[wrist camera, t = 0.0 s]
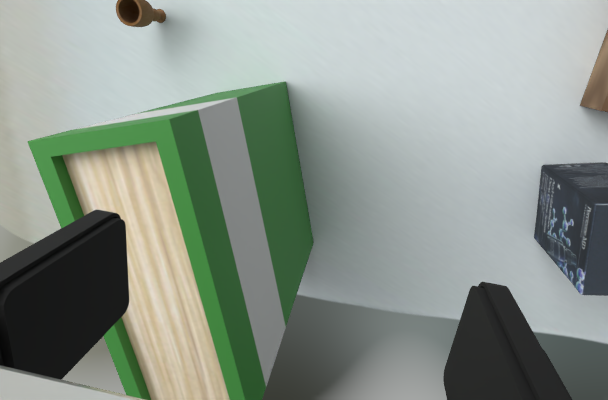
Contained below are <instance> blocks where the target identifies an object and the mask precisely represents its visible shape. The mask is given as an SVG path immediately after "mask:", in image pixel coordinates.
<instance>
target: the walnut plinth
mask: <svg viewBox="0 0 608 400" xmlns="http://www.w3.org/2000/svg"><path fill="white" fill-rule="evenodd" d="M580 106H584V107H588V108H592V109H596V110H599V111H606V112H608V30H607V33H606V36H605V38H604V41H603V44H602V47H601V49H600V52H599V55H598V57H597V60H596V63H595V66H594V68H593V71H592V74H591V77H590V79H589V82H588V85H587V87H586V90H585V93H584V96H583V98H582V101H581V104H580Z"/></svg>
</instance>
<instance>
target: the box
mask: <svg viewBox="0 0 608 400" xmlns="http://www.w3.org/2000/svg"><path fill="white" fill-rule="evenodd" d="M534 238H535V239H536V240H537V242H538V243H539V244H540V245H541V247H542V248H543V249H544V250H545V251H546V253H547V254H548V255H549V256H550V257H551V259H552V260H553V261H554V262H555V263H556V264H557V266H558V267H559V268H560V269H561V271H562V272H563V273H564V274H565V275H566V276H567V278H568V279H569V280H570V281H571V283H572V284H573V285H574V286H575V287H576V289H577V290H578V291H579V293H580V294H581V295H608V163H578V164H555V165H543V166H542V170H541V179H540V189H539V199H538V209H537V218H536V227H535V234H534Z"/></svg>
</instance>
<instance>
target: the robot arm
mask: <svg viewBox="0 0 608 400" xmlns="http://www.w3.org/2000/svg"><path fill="white" fill-rule="evenodd" d="M128 306H129V283H128V263H127V242H126V225H125V222H124V220H123V219H121V217H120V215H119V214H117V213H113V212H108V211H103V210H94V211H92V212H90V213H88V214H86V215H85V216H83V217H81V218H79V219H78V220H76V221H74V222H72V223H70V224H69V225H67V226H65V227H63V228H62V229H60V230H58V231H56V232H54V233H53V234H51V235H49V236H47V237H45V238H44V239H42V240H40V241H38V242H37V243H35V244H33V245H31V246H29V247H28V248H26V249H24V250H22V251H20V252H19V253H17V254H15V255H13V256H12V257H10V258H8V259H6V260H4V261H3V262H1V263H0V400H145V399H140V398H136V397H132V396H128V395H123V394H120V393H115V392H111V391H107V390H103V389H98V388H94V387H90V386H86V385H81V384H77V383H73V382H69V381H64V380H61V379H62V378H63V377H64V376H65V375H66V374H67V373H68V372H69V371H70V370H71V369H72V368H73V367H74V366H75V365H76V364H77V363H78V362H79V361H80V359H82V358H83V356H84V355H85V354H86V353H87V352H88V351H89V350H90V349H91V348H92V347H93V346H94V345H95V344H96V343H97V342H98V341H99V340H100V339H101V338H102V337H103V336H104V335H105V334H106V333H107V331H108V330H109V329H110V328H111V327H112V326H113V325H114V324H115V323H116V322H117V321H118V320H119V319H120V318H121V317H122V316H123V315H124V314H125V312H126V311H127V308H128ZM444 386H445V391H446V396H447V400H572V399H571V397H570V395H569V393H568V391H567V390H566V388H565V386H564V384H563V382H562V381H561V379H560V377H559V375H558V374H557V372H556V370H555V368H554V366H553V365H552V363H551V361H550V359H549V358H548V356H547V354H546V353H545V351H544V350H543V349H542V348H541V346H540V344H539V342H538V340H537V339H536V337H535V335H534V333H533V331H532V330H531V328H530V326H529V324H528V323H527V321H526V319H525V317H524V315H523V314H522V312H521V310H520V308H519V306H518V305H517V303H516V301H515V299H514V298H513V296H512V294H511V292H510V290H509V289H508V288H507V286H502V285H497V284H492V283H486V282H481V283H480V284H479V286H478V287H477V286H472V287H471V289H470V291H469V294H468V297H467V301H466V304H465V307H464V310H463V313H462V316H461V319H460V323H459V326H458V329H457V332H456V335H455V338H454V341H453V344H452V347H451V351H450V354H449V357H448V360H447V363H446V366H445V370H444Z"/></svg>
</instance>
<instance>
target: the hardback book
mask: <svg viewBox="0 0 608 400" xmlns="http://www.w3.org/2000/svg"><path fill="white" fill-rule="evenodd" d="M28 144H29V146H30V149H31V151H32V154H33V157H34V159H35V162H36V164H37V167H38V169H39V172H40V175H41V177H42V180H43V182H44V185H45V187H46V190H47V192H48V195H49V198H50V200H51V203H52V205H53V208H54V210H55V213H56V216H57V218H58V221H59V223H60V226H61V228H63V227H65V226H67V225H69V224H70V223H72V222H74V221H76V220H78V219H79V218H81V217H83V216H85V215H86V214H88V213H90V212H92V211H94V210H103V211H108V212H113V213H117V214H119V215H120V217H121V219H123V220H124V222H125V225H126V242H127V263H128V283H129V306H128V308H127V311H126V312H125V314H124V315H123V316H122V317H121V318H120V319H119V320H118V321H117V322H116V323H115V324H114V325H113V326H112V327H111V328H110V329H109V330H108V331H107V333H106V334H105V335H104V339H105V341H106V344H107V346H108V349H109V351H110V354H111V356H112V359H113V362H114V364H115V367H116V369H117V372H118V375H119V377H120V379H121V382H122V385H123V387H124V390H125V392H126V395H128V396H132V397H136V398H140V399H145V400H262V398H263V395H264V391H265V388H266V385H267V382H268V379H269V376H270V373H271V370H272V367H273V364H274V361H275V358H276V355H277V352H278V349H279V346H280V343H281V340H282V336H283V334H284V331H285V328H286V325H287V322H288V318H289V315H290V312H291V309H292V306H293V303H294V300H295V297H296V294H297V291H298V288H299V285H300V282H301V279H302V276H303V273H304V270H305V267H306V264H307V261H308V258H309V255H310V252H311V249H312V246H313V237H312V231H311V225H310V219H309V213H308V208H307V202H306V196H305V190H304V184H303V179H302V173H301V167H300V161H299V155H298V150H297V144H296V138H295V132H294V127H293V121H292V115H291V109H290V103H289V98H288V92H287V86H286V82H280V83H274V84H268V85H262V86H256V87H250V88H244V89H238V90H232V91H226V92H220V93H215V94H211V95H207V96H203V97H199V98H195V99H191V100H187V101H184V102H180V103H176V104H172V105H168V106H164V107H160V108H156V109H152V110H148V111H144V112H141V113H137V114H133V115H129V116H125V117H121V118H117V119H113V120H109V121H105V122H101V123H98V124H94V125H90V126H86V127H82V128H78V129H74V130H70V131H66V132H62V133H58V134H55V135H51V136H47V137H43V138H39V139H35V140H31V141H28Z"/></svg>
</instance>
